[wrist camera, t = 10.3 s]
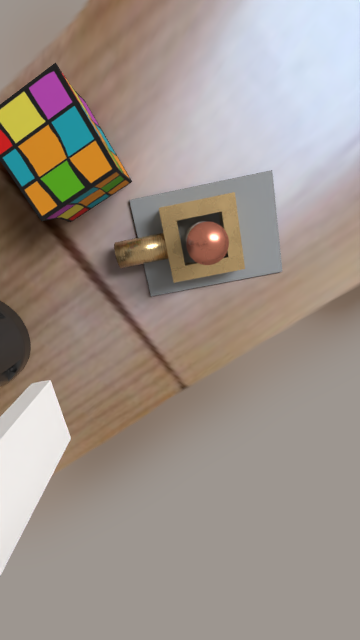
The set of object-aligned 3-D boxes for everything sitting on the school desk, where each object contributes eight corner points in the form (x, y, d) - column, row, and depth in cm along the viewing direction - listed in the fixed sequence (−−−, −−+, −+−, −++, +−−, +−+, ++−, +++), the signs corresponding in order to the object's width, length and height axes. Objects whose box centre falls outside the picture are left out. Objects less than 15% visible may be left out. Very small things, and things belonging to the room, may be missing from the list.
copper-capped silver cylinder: (188, 257, 46) (190, 269, 35) (182, 225, 45) (182, 226, 34) (219, 250, 46) (232, 260, 35) (214, 218, 45) (225, 217, 33)
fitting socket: (128, 287, 48) (124, 292, 44) (112, 219, 45) (106, 218, 41) (240, 265, 47) (245, 269, 43) (230, 194, 44) (234, 192, 40)
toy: (21, 146, 43) (-26, 123, 33) (84, 100, 41) (55, 62, 32) (70, 222, 45) (41, 221, 36) (132, 181, 44) (118, 169, 34)
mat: (151, 295, 48) (150, 296, 48) (129, 200, 44) (129, 200, 44) (281, 271, 47) (282, 271, 47) (271, 170, 43) (272, 170, 43)
